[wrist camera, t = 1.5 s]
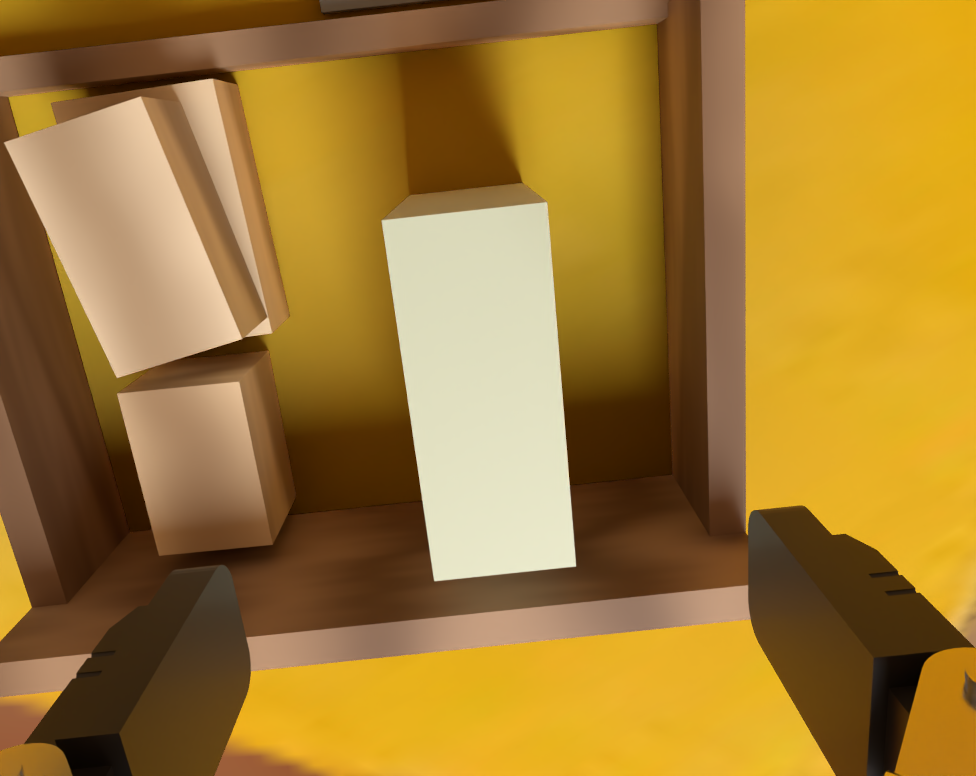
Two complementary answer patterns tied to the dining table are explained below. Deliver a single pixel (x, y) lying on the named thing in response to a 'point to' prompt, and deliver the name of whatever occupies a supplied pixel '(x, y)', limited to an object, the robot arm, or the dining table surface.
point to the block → (483, 378)
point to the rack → (402, 527)
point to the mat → (364, 4)
